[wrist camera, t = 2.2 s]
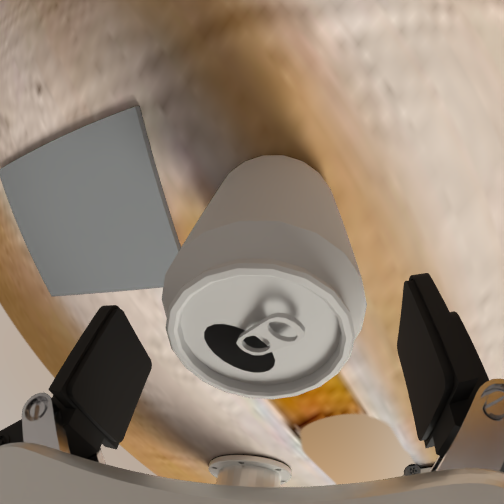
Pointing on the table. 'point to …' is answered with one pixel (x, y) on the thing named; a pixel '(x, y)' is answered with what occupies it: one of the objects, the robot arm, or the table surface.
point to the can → (266, 284)
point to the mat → (94, 209)
